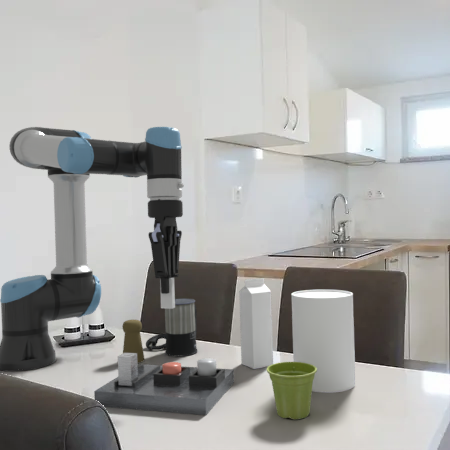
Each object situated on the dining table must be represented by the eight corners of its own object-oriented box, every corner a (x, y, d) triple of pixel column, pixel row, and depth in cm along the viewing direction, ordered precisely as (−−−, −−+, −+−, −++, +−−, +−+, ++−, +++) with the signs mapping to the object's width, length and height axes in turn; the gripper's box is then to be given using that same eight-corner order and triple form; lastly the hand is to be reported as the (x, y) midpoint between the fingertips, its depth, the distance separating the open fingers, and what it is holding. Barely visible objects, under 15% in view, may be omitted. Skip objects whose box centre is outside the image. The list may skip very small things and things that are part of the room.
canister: (288, 389, 109) (285, 297, 109) (300, 371, 122) (298, 289, 122) (352, 394, 105) (349, 298, 105) (358, 375, 117) (355, 290, 117)
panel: (94, 405, 103) (93, 381, 103) (138, 376, 122) (138, 355, 122) (206, 415, 96) (205, 388, 96) (234, 382, 115) (233, 360, 115)
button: (159, 380, 108) (159, 366, 108) (167, 375, 111) (166, 361, 111) (177, 382, 106) (176, 367, 106) (184, 376, 110) (183, 362, 110)
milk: (273, 365, 128) (271, 279, 128) (253, 369, 125) (251, 280, 125) (260, 360, 133) (258, 277, 133) (240, 363, 130) (238, 278, 130)
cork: (139, 364, 133) (138, 322, 133) (118, 363, 135) (117, 322, 135) (147, 357, 139) (146, 318, 139) (127, 357, 140) (125, 317, 140)
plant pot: (284, 427, 89) (282, 378, 89) (259, 410, 98) (258, 365, 98) (328, 418, 93) (326, 371, 93) (300, 402, 102) (299, 359, 102)
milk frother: (195, 356, 139) (194, 303, 139) (138, 357, 140) (137, 304, 140) (200, 344, 153) (198, 295, 153) (148, 345, 154) (147, 296, 154)
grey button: (194, 377, 105) (194, 363, 105) (201, 371, 109) (200, 357, 109) (213, 378, 104) (212, 363, 104) (218, 372, 108) (218, 358, 108)
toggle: (118, 385, 106) (117, 356, 106) (125, 380, 108) (124, 352, 108) (131, 385, 105) (130, 357, 105) (138, 381, 108) (137, 353, 108)
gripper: (169, 197, 102) (172, 313, 102) (191, 199, 115) (194, 303, 115) (135, 199, 104) (138, 312, 105) (161, 201, 117) (164, 302, 117)
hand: (167, 307), depth 110 cm, fingers closed
